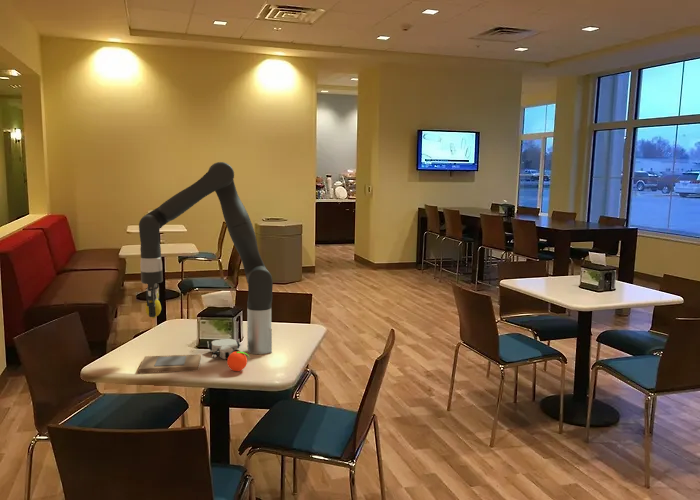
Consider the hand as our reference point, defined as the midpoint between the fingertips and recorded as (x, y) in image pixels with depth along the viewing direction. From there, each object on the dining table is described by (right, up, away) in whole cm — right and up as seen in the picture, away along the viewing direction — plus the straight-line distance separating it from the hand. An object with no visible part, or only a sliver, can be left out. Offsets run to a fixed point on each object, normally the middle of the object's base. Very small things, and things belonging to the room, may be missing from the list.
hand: (153, 314), depth 219 cm
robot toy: (+25, -17, +8) cm, 31 cm away
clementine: (+33, -19, -9) cm, 39 cm away
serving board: (+8, -18, -5) cm, 20 cm away
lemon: (0, -2, 0) cm, 2 cm away
